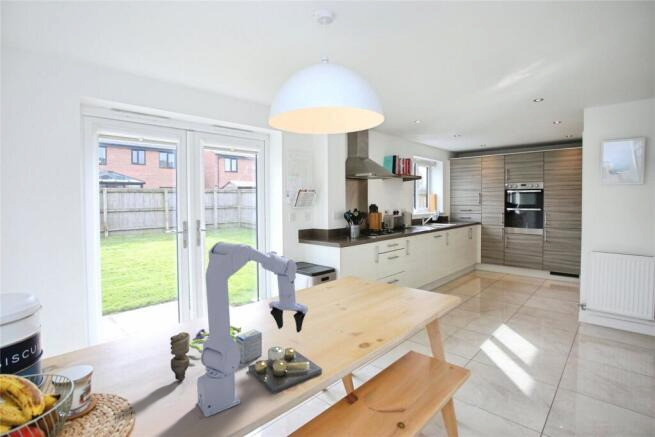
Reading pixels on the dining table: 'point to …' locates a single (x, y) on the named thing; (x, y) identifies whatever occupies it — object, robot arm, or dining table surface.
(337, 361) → the dining table surface
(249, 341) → the medicine box
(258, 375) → the levelling base
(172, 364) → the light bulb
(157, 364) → the dining table surface
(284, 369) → the brass lever handle
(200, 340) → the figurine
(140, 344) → the dining table surface
